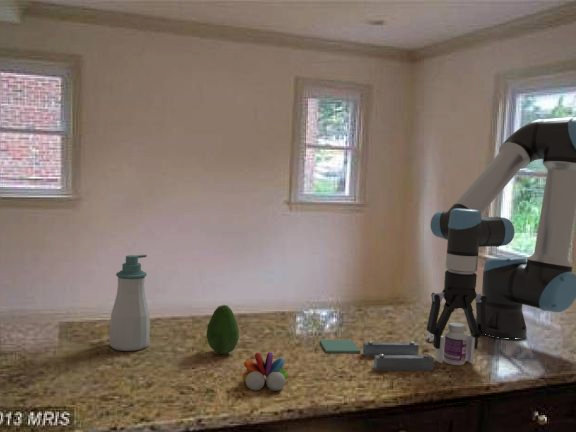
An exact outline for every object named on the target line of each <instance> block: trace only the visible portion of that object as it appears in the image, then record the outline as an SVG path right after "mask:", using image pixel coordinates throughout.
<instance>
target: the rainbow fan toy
mask: <svg viewBox="0 0 576 432" xmlns="http://www.w3.org/2000/svg"><path fill="white" fill-rule="evenodd" d="M273 358H274V353H273V352H271V351H269V352H267V354H266V357H265V361H264V358H263V357H262V355H261V353H260V352H256V353H254V359H255V361H256V362H255V361H253V360H249V359H248V360H246V361H245V362H244V363H243V365H244V367H245V372H244V373H243V374H242V375H241V376H242V380H243V381H244V382H245V384H246V386H247V388H249V389H250V390H251V391H259V390H261V389H262V388H263V387H264V386H265V384H266V386H267V387H268V389H270V390H271V391H274V392H275V391H280V390H282V389H283V388H284V386H285V384H286V380H287V379H288V378H289V377H288V372H287V371H286V370H284V369H283V366H284V365H285V360H284V358H281V357H280V358H277V359H276V360H274V362H273Z"/></svg>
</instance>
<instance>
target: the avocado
mask: <svg viewBox="0 0 576 432" xmlns="http://www.w3.org/2000/svg"><path fill="white" fill-rule="evenodd" d="M239 339H240V329H239V325H238V322H237V320H236V318H235V314H234V312H233V310H232V308H231V307H229V305H225V304H222V305H219V306H217V308H216V309H215V310H214V311H213V313H212V316H211V318H210V320H209V321H208V324H207V328H206V340H207V343H208V345H209V347H210V348H211V349H212V350H213V351H214V352H215V353H218V354H223V355H225V354H229V353H231V352H233V351H234V350H235V348H236V346H237V345H238V341H239Z"/></svg>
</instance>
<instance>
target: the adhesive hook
mask: <svg viewBox="0 0 576 432" xmlns="http://www.w3.org/2000/svg"><path fill="white" fill-rule="evenodd" d="M426 340H427V341H429V342H430V343H432V342H433V340H434V334H431V333H430V332H428V333H427V336H426Z"/></svg>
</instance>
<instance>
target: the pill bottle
mask: <svg viewBox="0 0 576 432" xmlns="http://www.w3.org/2000/svg"><path fill="white" fill-rule="evenodd" d="M447 327H448V331H446V332H445V333H444V349H443V362H444V363H446V364H448V365H454V366H463V365H464V364H465V363H466V347H467V333H465V331H466V324H463V323H460V322H449V323H448V326H447Z"/></svg>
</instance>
